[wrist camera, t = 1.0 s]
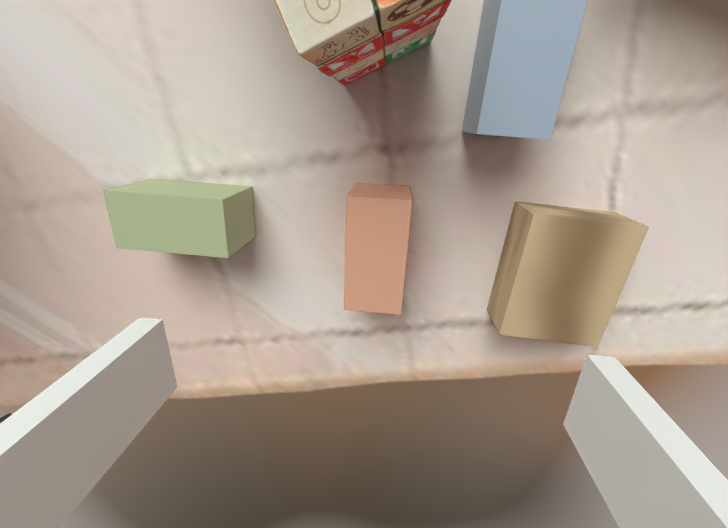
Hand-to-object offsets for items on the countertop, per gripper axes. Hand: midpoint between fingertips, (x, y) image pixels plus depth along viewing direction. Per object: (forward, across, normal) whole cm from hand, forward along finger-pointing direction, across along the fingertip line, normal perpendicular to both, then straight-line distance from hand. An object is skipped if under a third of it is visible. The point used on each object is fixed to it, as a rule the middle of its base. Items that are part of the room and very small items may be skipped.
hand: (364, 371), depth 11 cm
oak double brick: (+17, +13, -2) cm, 22 cm away
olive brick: (+17, -14, 0) cm, 22 cm away
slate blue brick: (+17, +7, +11) cm, 21 cm away
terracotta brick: (+17, 0, -1) cm, 17 cm away
